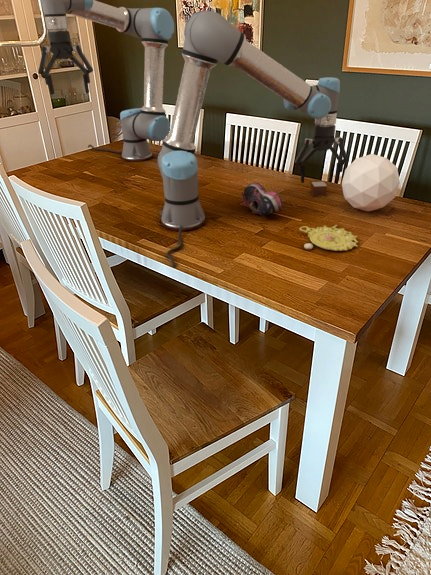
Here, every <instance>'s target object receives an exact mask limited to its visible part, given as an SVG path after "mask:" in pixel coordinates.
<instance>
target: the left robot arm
mask: <svg viewBox="0 0 431 575" xmlns="http://www.w3.org/2000/svg"><path fill="white" fill-rule="evenodd" d="M40 1H41V5H42V10H43V11H42V12H43V15H44V21H45V25H46V30H48V32H47V35H48V41H49V46H47V45H42V47H41V51H42V52H41V57H40V61H39V67H38V71H37V73H38V75H42V76H43V77H44V81H45V85H46V86H48V88H49V93H50V95H52V96H53V95H54V94H55V89H54V85H53V78H52V75H51V74H50V72H51V70H52V68H53V67H54V65H55V63H56V61H57V60H68V59H69V60H70V61H71V62H73V63H74V64H75V65H76V67H78V69H79V70H80V71H82V73H83V74H82V78H83V85H84V90H85V94H89V93H90V88H89V84H90V83H91V79H90V73H93V72H94V68H93V67H92V65H91V63H90V62H89V60H88V59H87V57H86V55H85V53H84V52H83V50H82V46H81V45H80V44H76V45H73V44H72V39H71V34H70V31H69V24H68V18H67V15H70V16H73V17H77V18H81V19H84V20H87V21H90V22H93V23H94V22H95V23H96V24H97V23H98V24H100V25H104V26H108V27H110V28H111V27H112V28H115V29H116V30H117V31H118V32H119V33H123V34H125V35H129V36H130V37H131V36H132V37H134V38H137V39H141V44H142V46H143V47H144V71H143V72H144V74H143V75H144V76H143V77H144V78H143V106H142V107H138V108H130V109H125V110H122V111H121V112H120V113H119V117H120V118H119V119H120V125H121V133H122V139H123V140H122V141H123V145H122V150H113V149H108V148H98V147H94V146H93V145H92V144H88V145H87V148H90V147H91V149H93V150H95V151H103V152H110V153H113V154H114V153H115V154H121V159H122V160H123V161H126V162H142V161H147V160H150V159H151V158H153V151H152V149H151V147H150V144H149V142H148V141H151V142H161V141H164V139H165V138H166V137H168V136H169V134H170V129H171V122H170V120H169V118H168V117H167V116H166V110H165V109H164V107H163V104H164V101H163V100H164V74H165V73H164V72H165V50H166V48H167V47H168V46H169V40H170V39H171V38H172V37H173V35H174V33H175V22H174V19H173V16H172V15H171V13H170V12H169V11H168V10H167V9H166V8H164V7H138V8H128V7H124V6H119V7H116V6H113V5H109V4H107V3H104V2H100V1H98V0H40ZM73 51H75V52H76V53H77V55H78V56H79V58H80V59H81V61H82V62H81V61H80V60H79V59H78V58H76V56H75V55H74V54H73ZM50 52H51V53H52V56H51V58H50V60H49V62H48V64H47V63H46V62H47V59H48V54H49V53H50ZM46 64H47V66H46ZM84 65H85V66H84ZM45 66H46V68H45Z"/></svg>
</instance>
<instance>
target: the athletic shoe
mask: <svg viewBox="0 0 431 575" xmlns="http://www.w3.org/2000/svg"><path fill="white" fill-rule="evenodd" d="M241 197H242V199H243V201H238V203H239V204H241V205H245V206H246V207H247V208H248V210H249V211H250V210H251V213H252V214H255V215H260V217H266V216H267V215H270V214H274V213H275V212H279V211H282V210H283V209H284V205H283V201H282V198H281V196H280V195H279V194H278V192H277V191H274V190H269V191H267V190H266V189H265V187H264V186H263V185H262V184H261V183H258V182H251V183H249V184H247V186H246V187H245V188H244V190H243V191H242V192H241Z"/></svg>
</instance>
